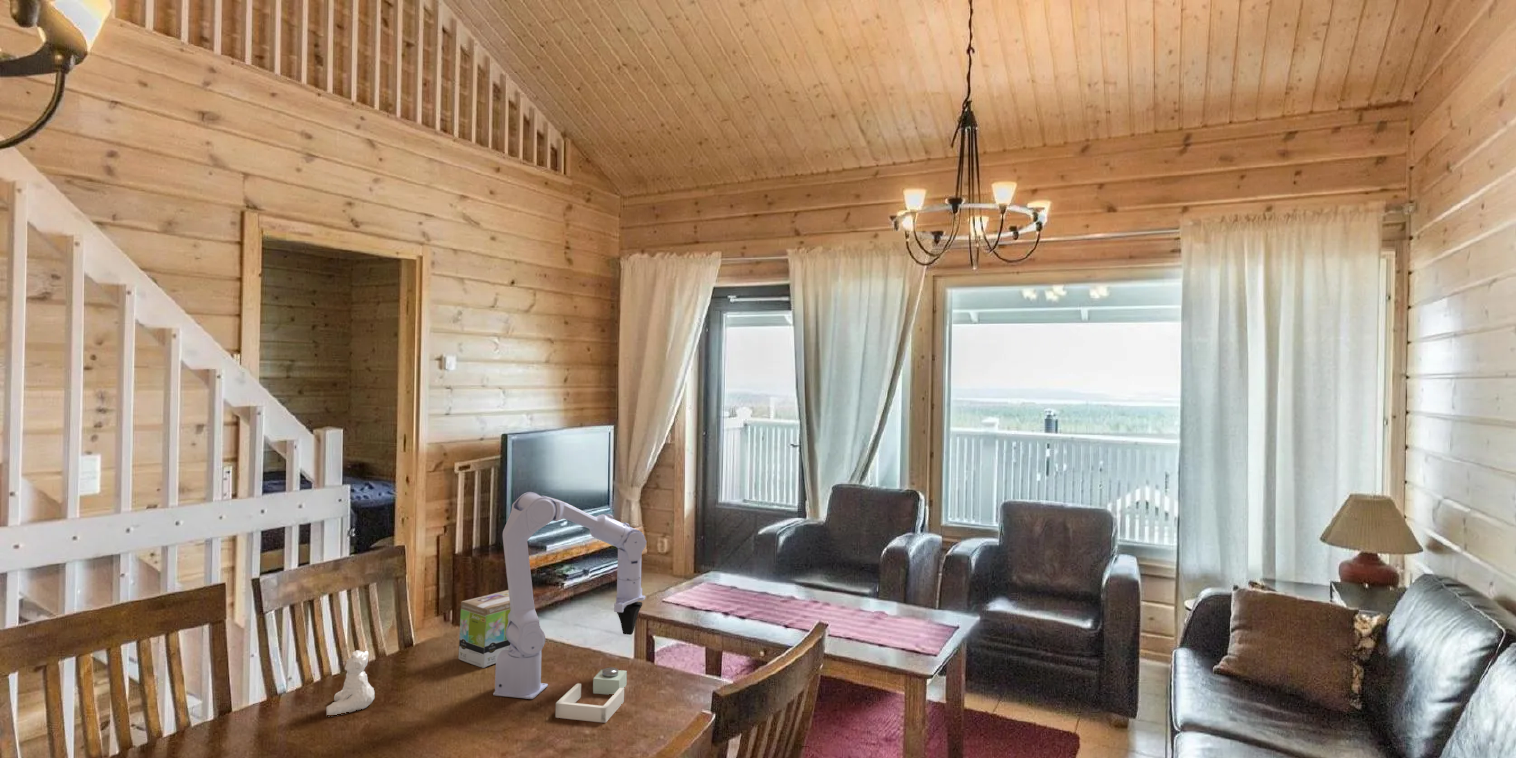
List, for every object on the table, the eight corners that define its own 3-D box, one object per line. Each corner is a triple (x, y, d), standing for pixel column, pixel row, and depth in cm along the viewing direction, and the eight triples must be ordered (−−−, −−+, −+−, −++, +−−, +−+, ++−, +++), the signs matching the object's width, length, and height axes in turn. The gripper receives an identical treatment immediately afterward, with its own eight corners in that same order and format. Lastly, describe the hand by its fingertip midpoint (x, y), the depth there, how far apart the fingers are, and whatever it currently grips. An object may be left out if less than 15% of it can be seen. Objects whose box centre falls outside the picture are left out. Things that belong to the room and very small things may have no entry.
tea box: (484, 669, 196) (485, 608, 196) (457, 660, 201) (458, 600, 201) (533, 652, 208) (534, 594, 208) (506, 644, 214) (507, 587, 214)
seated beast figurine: (336, 699, 176) (337, 644, 176) (379, 696, 179) (380, 641, 178) (324, 717, 167) (325, 659, 167) (370, 714, 169) (371, 656, 169)
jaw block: (592, 694, 183) (593, 674, 183) (601, 684, 189) (601, 664, 189) (619, 696, 182) (619, 676, 182) (626, 685, 188) (626, 666, 188)
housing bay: (555, 717, 170) (555, 703, 170) (576, 696, 181) (576, 683, 181) (605, 722, 168) (605, 708, 168) (623, 701, 179) (624, 688, 179)
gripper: (635, 586, 189) (633, 644, 189) (654, 571, 203) (653, 625, 203) (606, 584, 190) (605, 642, 190) (627, 569, 204) (626, 623, 205)
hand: (628, 633), depth 197 cm, fingers closed
